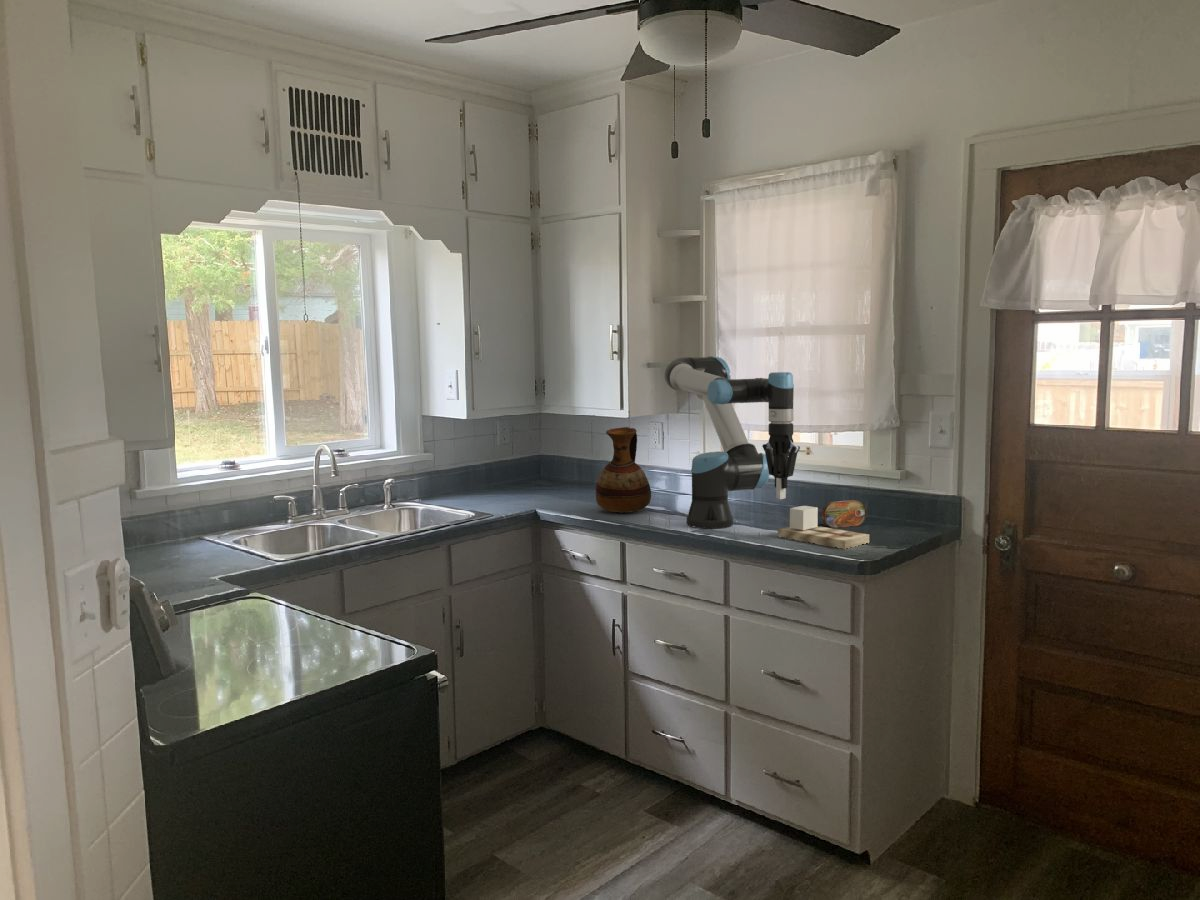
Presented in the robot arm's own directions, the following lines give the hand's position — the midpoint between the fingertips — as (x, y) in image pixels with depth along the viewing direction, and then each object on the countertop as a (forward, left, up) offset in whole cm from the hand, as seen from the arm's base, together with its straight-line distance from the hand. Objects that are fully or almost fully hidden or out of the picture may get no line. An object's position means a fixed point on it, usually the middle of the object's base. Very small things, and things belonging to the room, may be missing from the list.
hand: (780, 498), depth 286 cm
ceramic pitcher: (-63, -9, -11) cm, 65 cm away
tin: (+8, +22, -11) cm, 26 cm away
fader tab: (+9, 0, -8) cm, 12 cm away
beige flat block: (+16, 0, -11) cm, 19 cm away
